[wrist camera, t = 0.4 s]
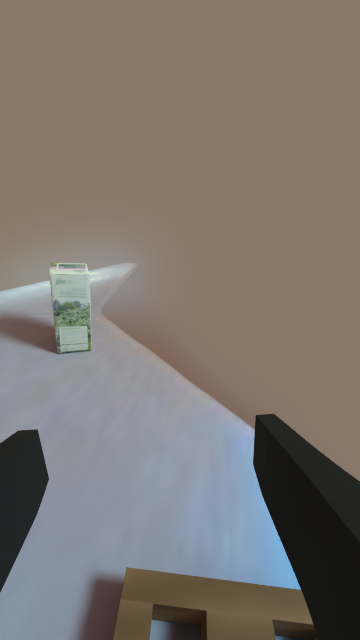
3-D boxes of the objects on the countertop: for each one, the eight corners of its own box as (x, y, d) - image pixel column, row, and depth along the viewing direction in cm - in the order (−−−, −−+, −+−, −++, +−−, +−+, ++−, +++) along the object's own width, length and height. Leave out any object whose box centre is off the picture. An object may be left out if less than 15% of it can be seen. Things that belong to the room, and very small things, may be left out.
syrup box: (89, 335, 53) (86, 261, 46) (92, 351, 48) (89, 272, 41) (57, 337, 50) (49, 261, 44) (56, 355, 46) (48, 272, 39)
